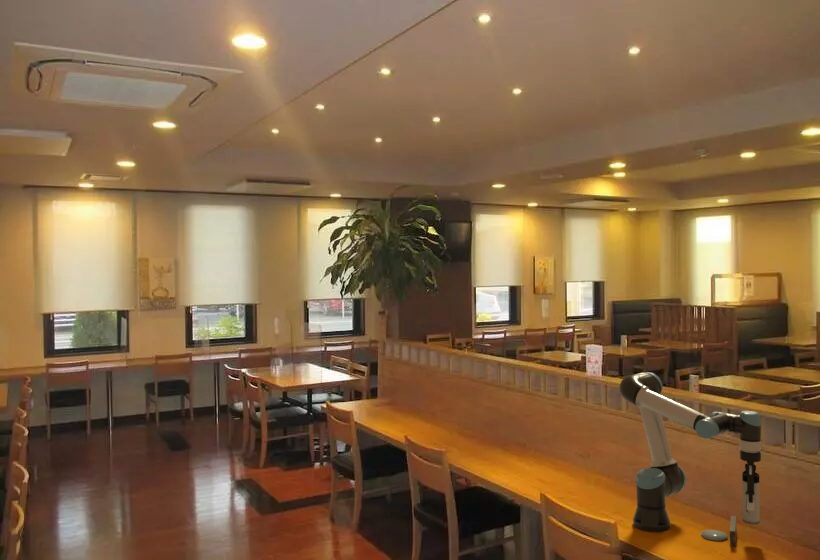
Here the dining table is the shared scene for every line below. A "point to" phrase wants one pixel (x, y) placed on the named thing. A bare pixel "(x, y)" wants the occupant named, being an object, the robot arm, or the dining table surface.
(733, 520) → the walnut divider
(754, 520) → the travel mug
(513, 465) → the dining table surface
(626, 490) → the dining table surface
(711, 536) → the slate saucer
